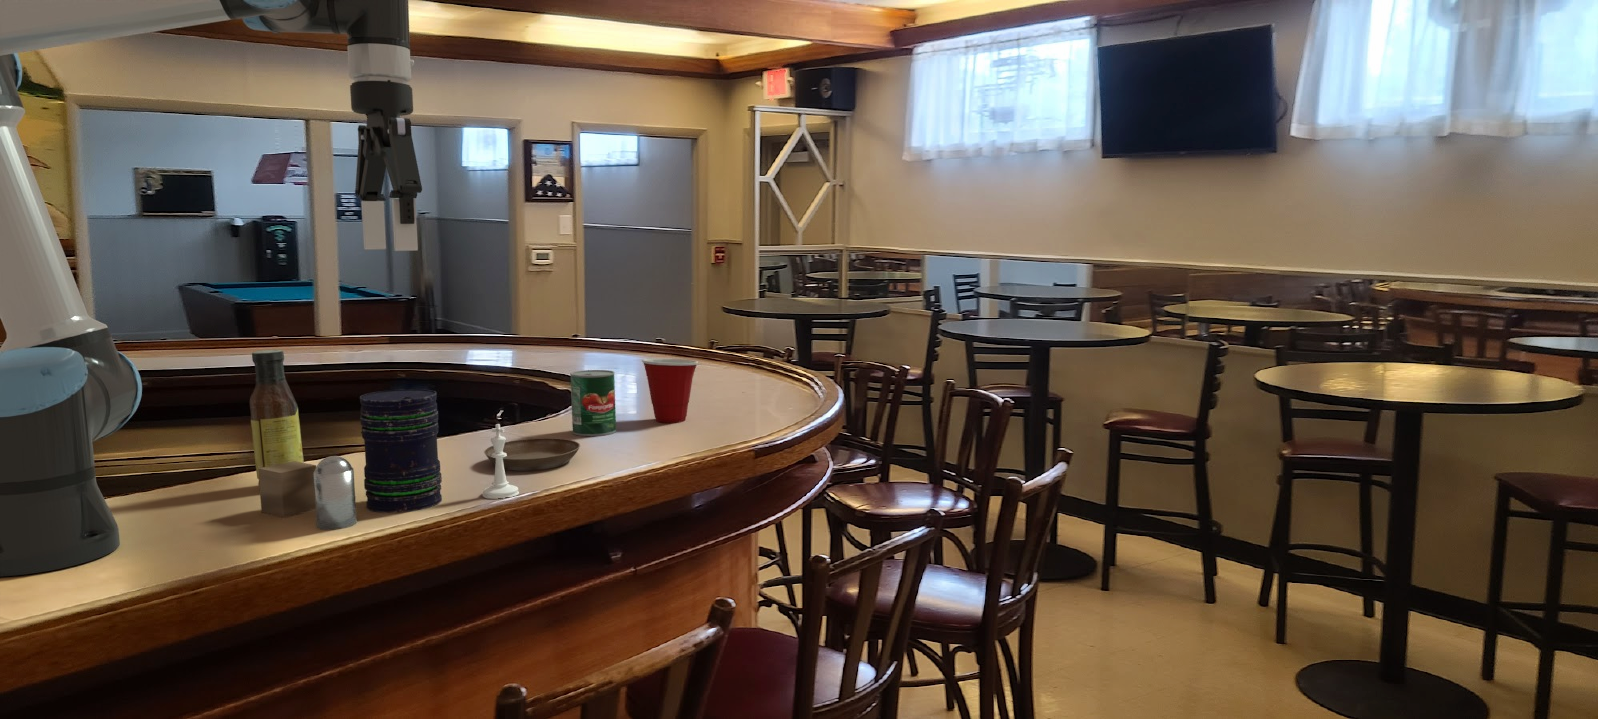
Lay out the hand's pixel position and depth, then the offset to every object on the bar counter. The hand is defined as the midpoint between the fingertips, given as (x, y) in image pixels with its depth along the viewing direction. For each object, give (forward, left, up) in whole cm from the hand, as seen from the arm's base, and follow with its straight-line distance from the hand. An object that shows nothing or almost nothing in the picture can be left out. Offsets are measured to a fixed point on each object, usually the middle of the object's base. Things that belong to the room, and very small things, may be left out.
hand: (390, 250), depth 138 cm
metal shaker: (-10, -5, -34) cm, 36 cm away
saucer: (+24, +12, -35) cm, 44 cm away
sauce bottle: (-11, +21, -34) cm, 42 cm away
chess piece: (+12, -4, -34) cm, 37 cm away
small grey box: (-13, +6, -34) cm, 37 cm away
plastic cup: (+60, +29, -34) cm, 75 cm away
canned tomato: (+43, +28, -34) cm, 62 cm away
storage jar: (0, 0, -34) cm, 34 cm away
